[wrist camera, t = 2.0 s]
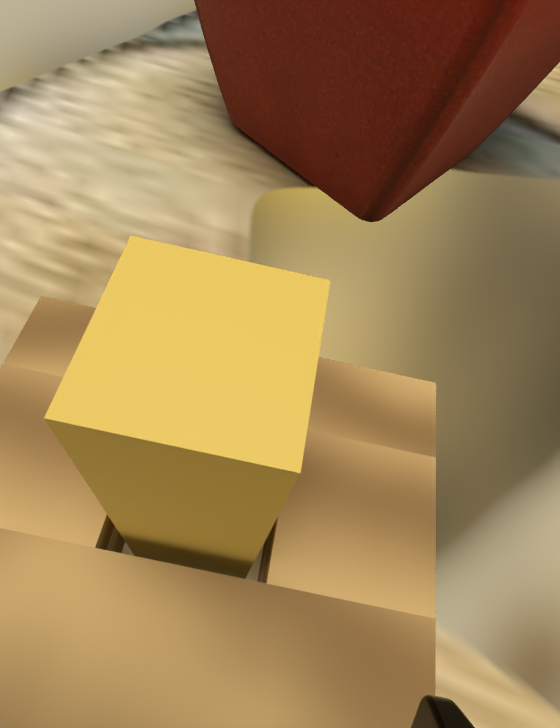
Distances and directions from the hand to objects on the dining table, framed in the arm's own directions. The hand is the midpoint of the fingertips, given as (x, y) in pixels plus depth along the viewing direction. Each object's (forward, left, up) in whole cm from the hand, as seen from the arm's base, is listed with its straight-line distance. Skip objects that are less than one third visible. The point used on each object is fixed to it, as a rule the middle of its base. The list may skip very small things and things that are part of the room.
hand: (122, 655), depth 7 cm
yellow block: (+2, +4, -11) cm, 12 cm away
